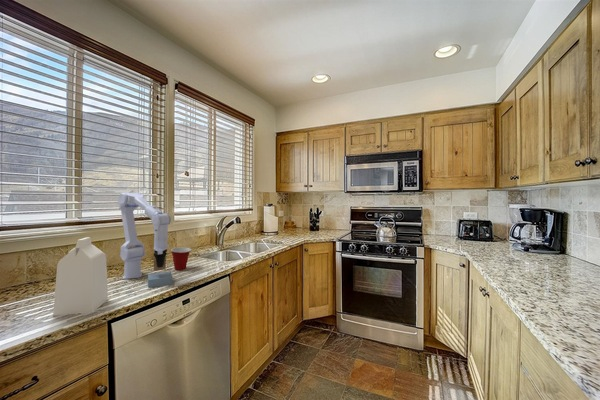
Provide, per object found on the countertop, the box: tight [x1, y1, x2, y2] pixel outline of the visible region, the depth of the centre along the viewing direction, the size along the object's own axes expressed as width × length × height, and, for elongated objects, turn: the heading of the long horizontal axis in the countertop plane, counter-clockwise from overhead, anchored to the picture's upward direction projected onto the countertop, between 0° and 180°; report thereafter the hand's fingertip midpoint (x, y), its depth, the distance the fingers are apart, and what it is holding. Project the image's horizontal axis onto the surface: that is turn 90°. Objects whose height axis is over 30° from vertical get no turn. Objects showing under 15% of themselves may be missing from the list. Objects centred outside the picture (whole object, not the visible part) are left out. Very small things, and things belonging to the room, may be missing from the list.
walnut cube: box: [153, 256, 167, 272], centre depth 121 cm, size 5×5×5 cm
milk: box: [52, 236, 109, 317], centre depth 93 cm, size 12×12×26 cm
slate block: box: [147, 270, 173, 289], centre depth 121 cm, size 10×10×4 cm
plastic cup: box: [170, 246, 192, 271], centre depth 144 cm, size 11×11×12 cm
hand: (160, 265), depth 121 cm, fingers closed on walnut cube, 5 cm apart
